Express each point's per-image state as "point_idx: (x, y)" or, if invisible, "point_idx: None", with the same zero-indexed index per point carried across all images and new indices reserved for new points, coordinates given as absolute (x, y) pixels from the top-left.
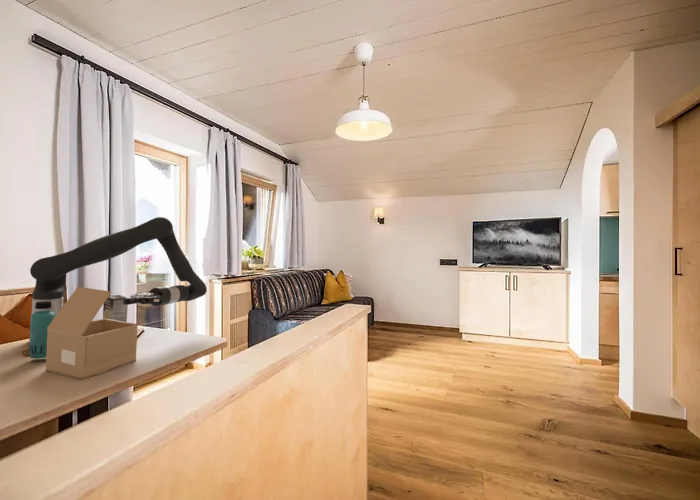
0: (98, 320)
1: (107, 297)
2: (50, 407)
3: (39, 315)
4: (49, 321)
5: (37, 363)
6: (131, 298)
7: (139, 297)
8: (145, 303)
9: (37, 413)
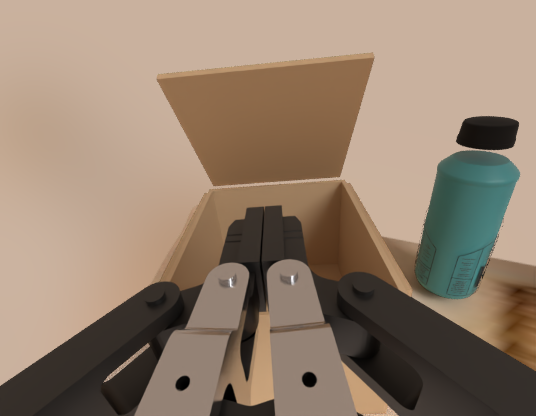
0: (391, 275)
1: (168, 100)
2: (188, 223)
3: (445, 158)
4: (439, 189)
5: (411, 275)
6: (242, 230)
7: (205, 285)
8: (141, 361)
9: (189, 215)
